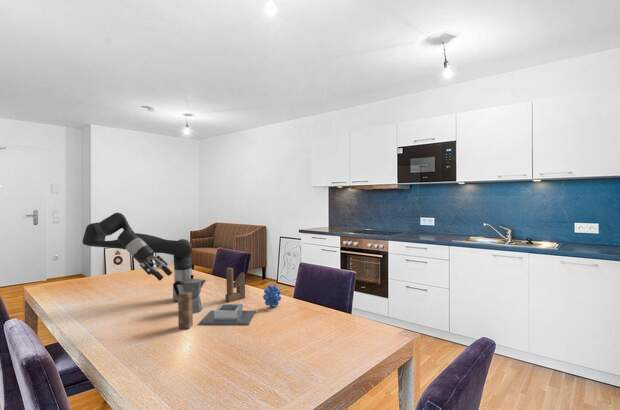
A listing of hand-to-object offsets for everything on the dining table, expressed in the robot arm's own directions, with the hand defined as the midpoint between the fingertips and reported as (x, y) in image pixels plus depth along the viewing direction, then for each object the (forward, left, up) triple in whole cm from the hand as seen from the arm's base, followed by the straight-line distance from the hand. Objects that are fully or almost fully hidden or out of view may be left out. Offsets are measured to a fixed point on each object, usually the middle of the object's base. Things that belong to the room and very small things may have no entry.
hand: (166, 276), depth 148 cm
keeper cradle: (+24, +11, -22) cm, 35 cm away
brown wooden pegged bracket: (+20, +40, -22) cm, 50 cm away
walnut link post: (+8, 0, -22) cm, 24 cm away
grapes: (+43, +26, -22) cm, 55 cm away
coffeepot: (+2, +21, -22) cm, 31 cm away
